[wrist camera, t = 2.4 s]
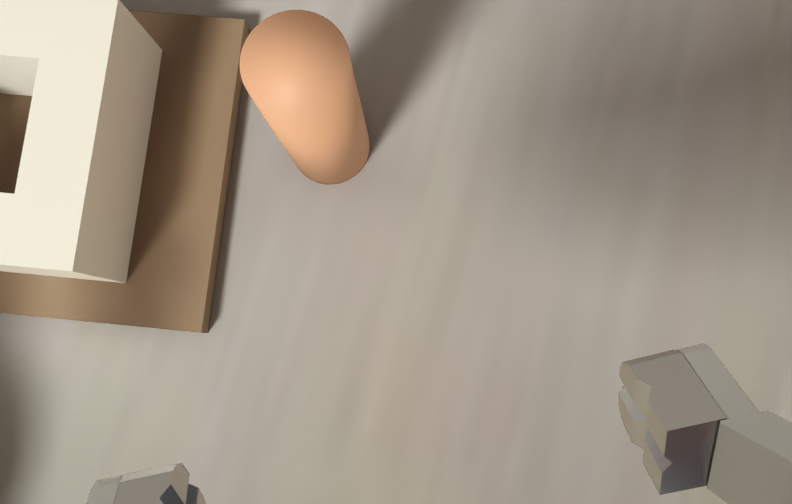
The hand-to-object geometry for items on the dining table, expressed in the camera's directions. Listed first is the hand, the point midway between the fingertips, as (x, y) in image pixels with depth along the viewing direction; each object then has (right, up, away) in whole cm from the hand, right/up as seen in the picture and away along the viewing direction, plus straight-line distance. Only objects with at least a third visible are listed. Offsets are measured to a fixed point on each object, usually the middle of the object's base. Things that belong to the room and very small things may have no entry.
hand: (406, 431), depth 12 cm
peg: (-3, +9, +21) cm, 23 cm away
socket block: (-19, +8, +22) cm, 30 cm away
